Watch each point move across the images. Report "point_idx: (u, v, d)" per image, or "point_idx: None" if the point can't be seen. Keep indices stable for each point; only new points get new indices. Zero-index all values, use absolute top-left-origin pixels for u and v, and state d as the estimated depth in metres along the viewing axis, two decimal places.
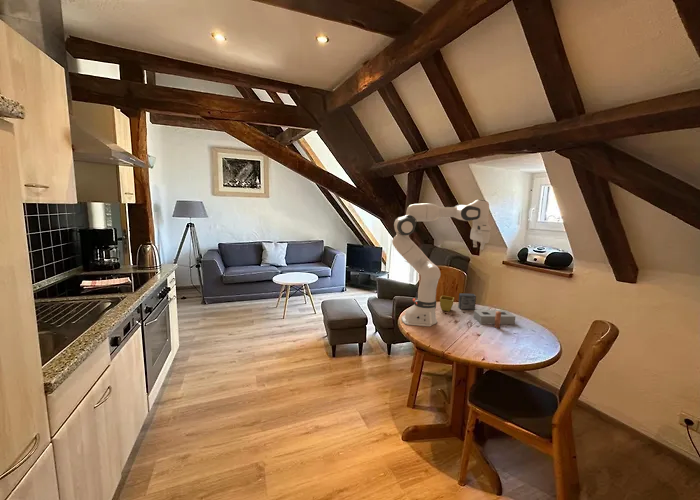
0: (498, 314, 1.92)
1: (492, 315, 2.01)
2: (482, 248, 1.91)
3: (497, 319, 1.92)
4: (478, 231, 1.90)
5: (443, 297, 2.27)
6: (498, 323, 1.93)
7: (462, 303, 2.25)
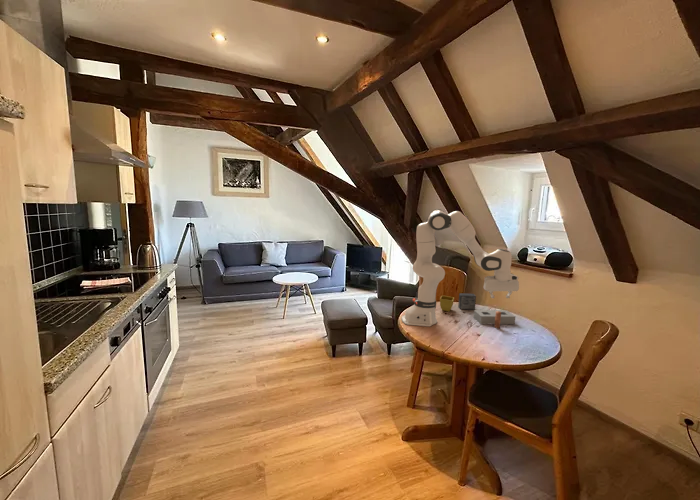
0: (498, 314, 1.92)
1: (492, 315, 2.01)
2: None
3: (497, 319, 1.92)
4: (511, 281, 1.87)
5: (443, 297, 2.27)
6: (498, 323, 1.93)
7: (462, 303, 2.25)
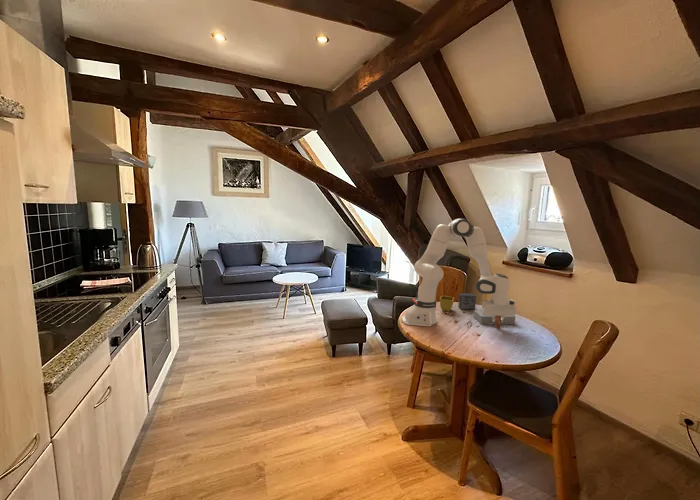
0: None
1: None
2: None
3: (497, 319, 1.92)
4: (509, 306, 1.89)
5: (443, 297, 2.27)
6: (498, 323, 1.93)
7: (462, 303, 2.25)
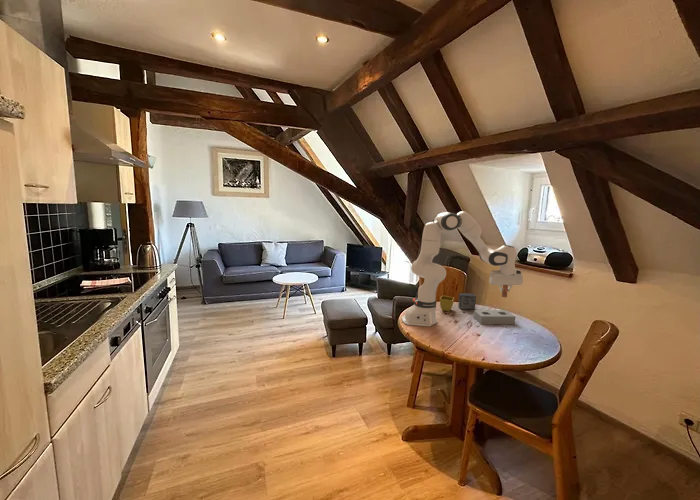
0: None
1: (492, 315, 2.01)
2: None
3: (504, 288, 2.01)
4: (515, 275, 1.98)
5: (443, 297, 2.27)
6: (505, 292, 2.01)
7: (462, 303, 2.25)
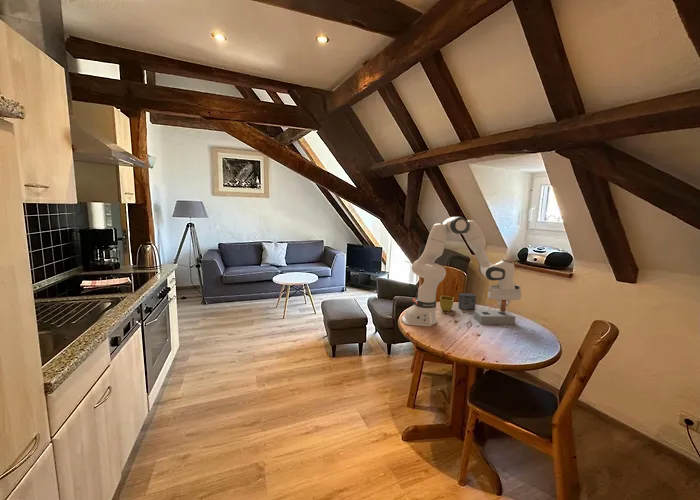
0: None
1: (492, 315, 2.01)
2: None
3: (503, 303, 2.02)
4: (514, 290, 1.99)
5: (443, 297, 2.27)
6: (504, 307, 2.03)
7: (462, 303, 2.25)
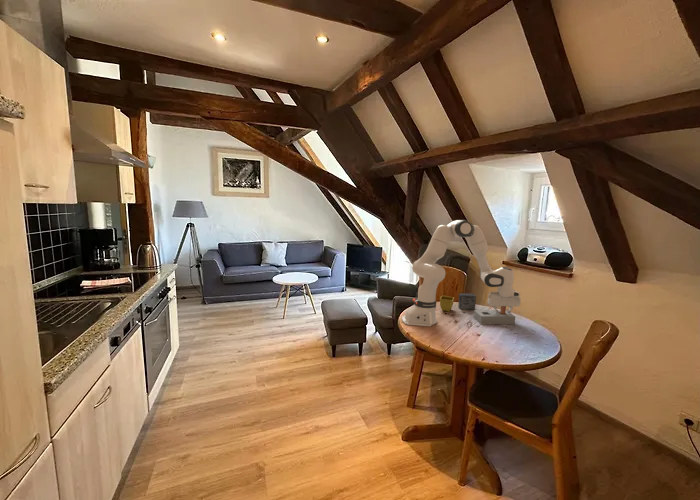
0: (503, 308, 2.03)
1: (492, 315, 2.01)
2: None
3: (502, 313, 2.03)
4: (513, 297, 2.00)
5: (443, 297, 2.27)
6: None
7: (462, 303, 2.25)
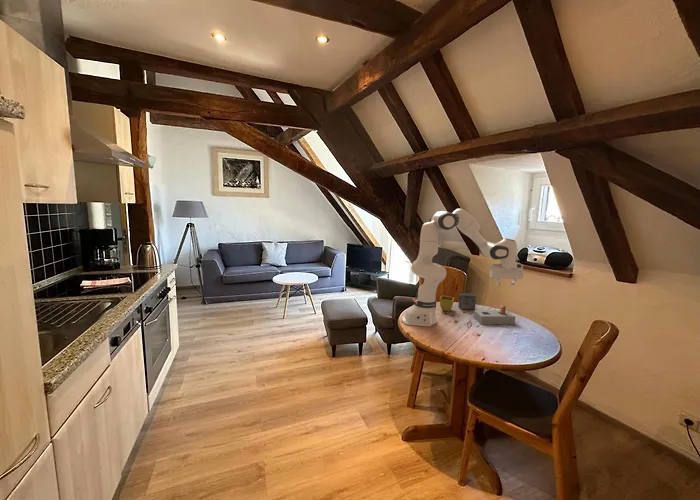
0: (503, 308, 2.03)
1: (492, 315, 2.01)
2: None
3: (502, 313, 2.03)
4: (516, 269, 1.97)
5: (443, 297, 2.27)
6: None
7: (462, 303, 2.25)
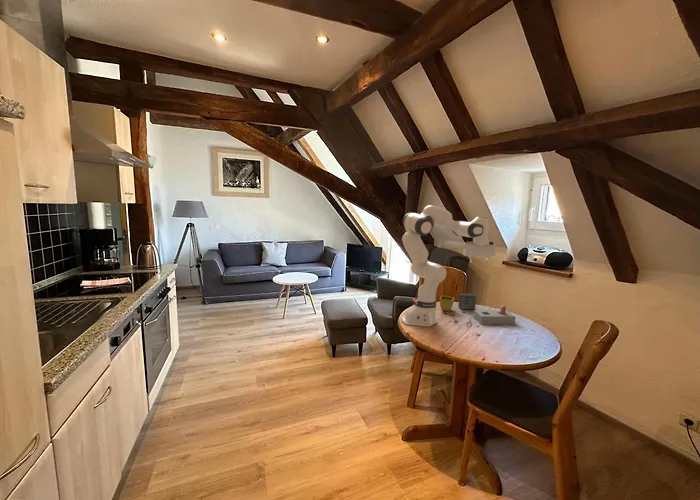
0: (503, 308, 2.03)
1: (492, 315, 2.01)
2: None
3: (502, 313, 2.03)
4: (488, 246, 2.02)
5: (443, 297, 2.27)
6: None
7: (462, 303, 2.25)
